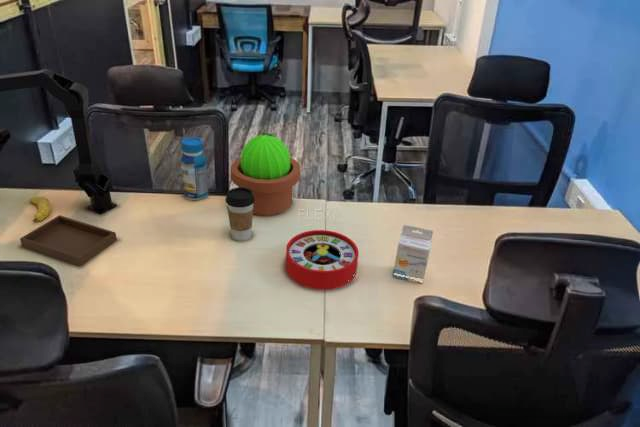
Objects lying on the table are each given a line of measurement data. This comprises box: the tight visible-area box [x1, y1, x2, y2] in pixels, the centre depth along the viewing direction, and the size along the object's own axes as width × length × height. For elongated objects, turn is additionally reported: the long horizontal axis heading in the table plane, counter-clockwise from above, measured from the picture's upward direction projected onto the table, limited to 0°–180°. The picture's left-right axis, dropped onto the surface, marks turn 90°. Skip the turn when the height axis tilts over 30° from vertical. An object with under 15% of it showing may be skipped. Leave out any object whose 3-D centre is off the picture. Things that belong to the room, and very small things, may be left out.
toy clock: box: [285, 229, 359, 291], centre depth 141 cm, size 20×6×20 cm
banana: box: [29, 195, 52, 223], centre depth 159 cm, size 15×6×3 cm, turn 28°
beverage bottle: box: [180, 136, 210, 201], centre depth 168 cm, size 8×8×20 cm
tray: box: [19, 214, 118, 268], centre depth 145 cm, size 21×14×3 cm
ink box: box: [392, 224, 434, 284], centre depth 138 cm, size 8×5×15 cm, turn 72°
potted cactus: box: [230, 132, 301, 216], centre depth 165 cm, size 22×22×25 cm
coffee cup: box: [225, 186, 255, 242], centre depth 150 cm, size 8×8×15 cm
